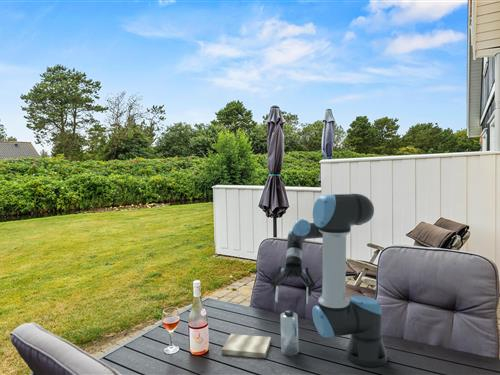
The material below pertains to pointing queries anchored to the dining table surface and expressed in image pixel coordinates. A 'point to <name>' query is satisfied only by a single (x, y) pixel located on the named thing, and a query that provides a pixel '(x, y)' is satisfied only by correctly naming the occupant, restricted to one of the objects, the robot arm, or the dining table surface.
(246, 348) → the birch board
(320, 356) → the dining table surface
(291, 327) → the steel bottle
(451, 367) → the dining table surface
